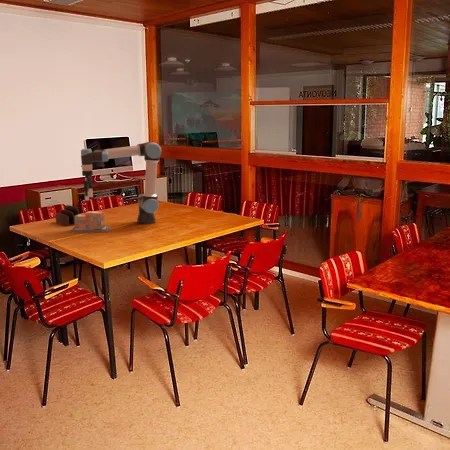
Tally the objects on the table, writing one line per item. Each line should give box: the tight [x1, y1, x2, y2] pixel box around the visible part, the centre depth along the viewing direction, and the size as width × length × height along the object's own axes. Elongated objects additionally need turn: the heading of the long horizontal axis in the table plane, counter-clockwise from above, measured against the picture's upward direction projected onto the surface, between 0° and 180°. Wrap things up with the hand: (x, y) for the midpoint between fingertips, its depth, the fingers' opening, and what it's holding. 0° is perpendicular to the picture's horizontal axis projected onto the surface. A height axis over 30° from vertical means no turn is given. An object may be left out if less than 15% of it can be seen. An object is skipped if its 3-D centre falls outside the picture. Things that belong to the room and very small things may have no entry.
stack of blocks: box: [74, 210, 106, 229], centre depth 370 cm, size 21×6×12 cm, turn 80°
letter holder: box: [55, 204, 80, 227], centre depth 393 cm, size 10×20×14 cm, turn 48°
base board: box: [70, 225, 111, 233], centre depth 372 cm, size 27×13×2 cm, turn 93°
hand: (89, 198), depth 367 cm, fingers open, 13 cm apart
